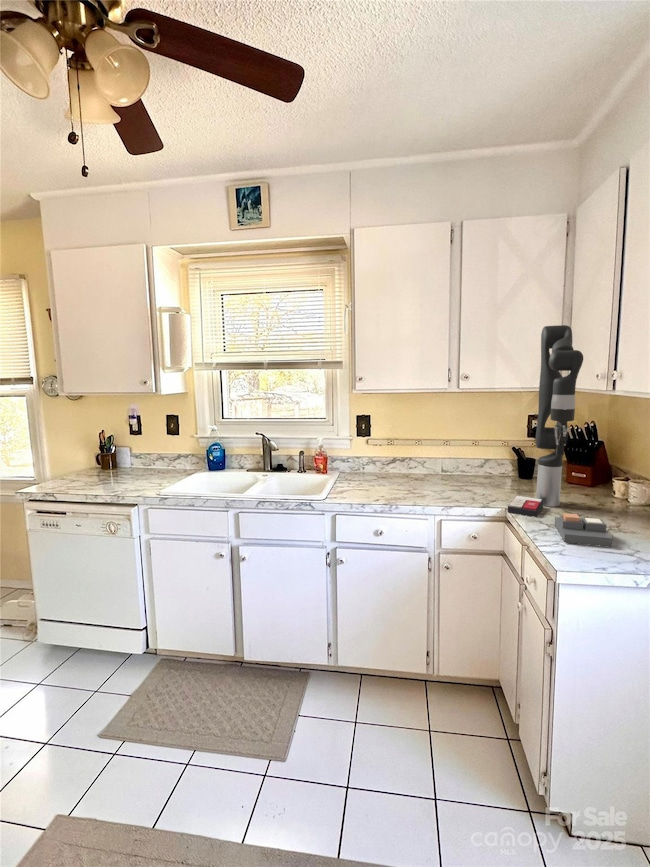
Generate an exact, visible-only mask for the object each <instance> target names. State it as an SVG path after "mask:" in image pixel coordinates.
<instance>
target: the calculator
mask: <svg viewBox="0 0 650 867" xmlns="http://www.w3.org/2000/svg"><path fill="white" fill-rule="evenodd" d="M543 507H544V506H543V500H542V499H536V497H526V496H520V495H515V497H514V498H513V499H512V500H511V501H510V502H509V504H508V505H507V514H508V513H509V514H515V515H520V514H521V515H520V516H526V515H527V517H532V516H534V517H533V518H537V517H538V516H537V515H539V514H540V512H541V511H542V510H541V509H543Z"/></svg>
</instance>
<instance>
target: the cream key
mask: <svg viewBox="0 0 650 867" xmlns="http://www.w3.org/2000/svg"><path fill="white" fill-rule="evenodd" d="M584 518H585V520H586V522H587V523H596V524H603V523H602V522H601V520H600V519H601V518H595V519H593V517H591V518H590V517H584Z"/></svg>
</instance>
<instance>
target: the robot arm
mask: <svg viewBox="0 0 650 867" xmlns="http://www.w3.org/2000/svg"><path fill="white" fill-rule="evenodd" d="M550 350H551V352H550ZM540 361H541V362H540V374H539V375H540V376H539V384H538V412H537V413H538V415H537V424H536V430H535V431H536V432H535V445H536V446H535V447H536V448H537V449H541V450H554V451H553V452H551V453H549V454H546V455H542V456H539V458H538V460H537V476H536V477H537V478H536V494H535V498H536V499H542V500H543V507H548V508H550V507H553V508H554V507H559V506H560V504H561V503H560V501H561V489H562V487H561V486H562V475H563V474H562V473H563V472H562V471H563V456H564V454H565V446H566V445H567V443H568V440H569V435H570V432H569V431H570V427H569V426H568V422H574V420H575V410H576V395H575V394H576V388H577V387H576V386H577V378H578V376H579V373H580V370H581V368H582V366H583V362H584V354H583V353H582V352H581V351H580V350H576V349H574V347H573V330H572V328H571V327H570V326H569V325H567V324H565V325H562V324H560V325H559V324H558V325H546V326H544V327H543V328H542V330H541V335H540ZM560 371H564V372H565V371H568V372H569V374H568V375H566V376H563V375H562V374H561V372H560ZM549 417H550V420H551V421H552V422H556V424H555V425H554V427H549V426H548V427H547V426H546V424H547V421H548V419H549Z"/></svg>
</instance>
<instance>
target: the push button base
mask: <svg viewBox="0 0 650 867" xmlns="http://www.w3.org/2000/svg"><path fill="white" fill-rule="evenodd" d="M585 518H586V517H582V516H581V517H580V522H571V521H564V519H563V515H559V517H556V516H555V517H554V523H553V525H554V527H555V529H556V530H558V531H557V532H558V534H559V535H560V538H561V537H562V538H561V540H562V541H563V543H564V542H568V543H567V544H573V543H579V544H578V545H584V544H590V545H589V546H594V545H600V546H599V547H605V546H609V547H608V548H613V542H614V540H613V537H612V536H611V534H610V533H609V532H608V531H607V525H608V524H606V523H605V521H603V518H599V519H600V520H601V522H602V523H603V524H596V523H587V522H586V520H585ZM592 518H593V517H592ZM593 519H596V518H593Z"/></svg>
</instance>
